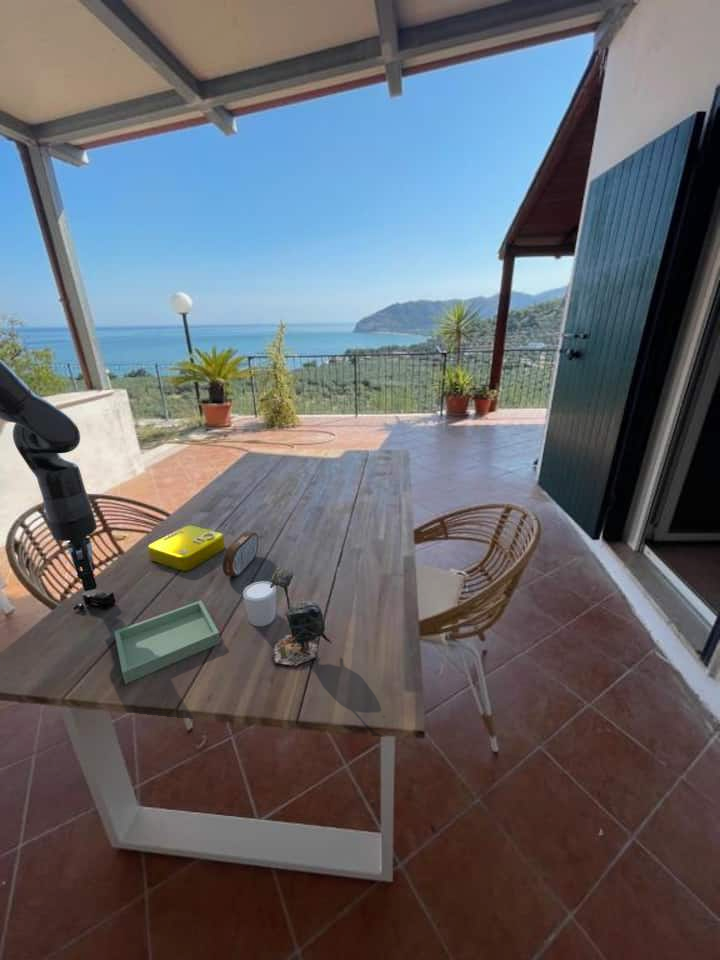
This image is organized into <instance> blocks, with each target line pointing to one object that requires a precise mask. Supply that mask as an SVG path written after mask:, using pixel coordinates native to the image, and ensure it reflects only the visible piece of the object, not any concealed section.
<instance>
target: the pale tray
mask: <svg viewBox="0 0 720 960" xmlns="http://www.w3.org/2000/svg"><path fill="white" fill-rule="evenodd" d="M114 637H115V638H114V639H115V643H116V648H117V654H118V658H119V664H120V669H121V673H122V678H123V681H124V684H125V685H127V684H129V683H131V682H133V681H136V680H138V679H141V678H143V677H145V676H147V675H150V674H152V673H154V672H156V671H159V670H161V669H164V668H166V667H168V666H171V665H173V664H176V663H178V662H181V661H182V660H184V659H187V658H190V657H192V656H194V655H196V654H198V653H201V652H204V651H205V650H207V649H210V648H212V647H215V646H217V645H219V644H221V634H220V631H219V629H218V628H217V626H216V624H215V623H214V621H213V619H212V617H211V615H210V613H209V611H208V610H207V608H206V606H205V603H204V602H203V601H202V600H197V601H195V602H192V603H189V604H187V605H183V606H181V607H179V608H176V609H173V610H170V611H168V612H165V613H162V614H159V615H156V616H153V617H151V618H148V619H145V620H143V621H140V622H137V623H134V624H131V625H128V626H126V627H122V628H119V629H118V630H115V631H114Z"/></svg>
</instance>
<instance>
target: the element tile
mask: <svg viewBox="0 0 720 960" xmlns="http://www.w3.org/2000/svg"><path fill="white" fill-rule="evenodd" d="M225 545H226V544H225V538H224V534H223V533H222V532H218V531H214V530H211V529H207V528H203V527H200V526H197V525H189V524H188V525H186V526H183V527H182V528H179V529H177V530H175V531H173V532H170V533H169V534H167V535H165V536H163V537H161V538H158V539H156V540H155V541H153V542H151V543H150V544H148V545H147V550H148V554H149V559H150V561H152V562H154V561H155V562H154V563H157V562H158V563H157V564H160V565H163V566H166V567H168V566H169V567H168V568H172V569H175V570H178V571H180V572H188V571H190V570H193V569H195V568H196V567H198V566H199V565H201V564H202V563H204V562H205V561H207V560H209V559H210V558H213V557H214V556H216V555H217V554H219V553H220V552H222V551H223V550H224V549H225V548H226V547H225Z"/></svg>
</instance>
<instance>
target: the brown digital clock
mask: <svg viewBox="0 0 720 960" xmlns="http://www.w3.org/2000/svg"><path fill="white" fill-rule="evenodd" d="M258 549H259V536H258V534H257V533H256V532H252V531H249V530H246V531H243V532H242V533H241V534H240V535H239V536H238V537H237V538H236V539H235V540H233V542H232V543H230V544H229V546H228V547H227V549H226V550H225V552H224V555H223V559H222V572H223V574H224V575H225V576H228V577H229V576H230V577H239V576H240V575H241V574H242V573H243V572H244V571H245V570H246V568H247V567H249V565H250V564H251V563H252V562H253V561H254V559H255V558H256V557H257V553H258Z"/></svg>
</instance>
